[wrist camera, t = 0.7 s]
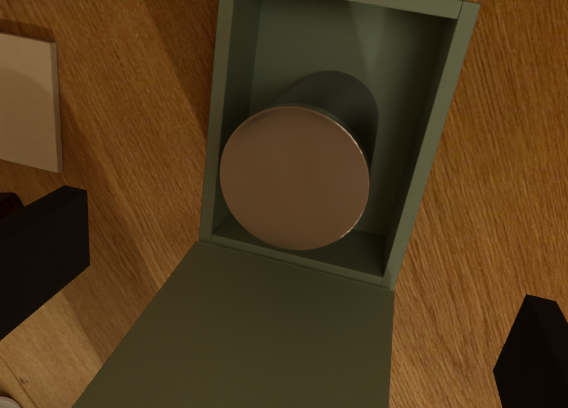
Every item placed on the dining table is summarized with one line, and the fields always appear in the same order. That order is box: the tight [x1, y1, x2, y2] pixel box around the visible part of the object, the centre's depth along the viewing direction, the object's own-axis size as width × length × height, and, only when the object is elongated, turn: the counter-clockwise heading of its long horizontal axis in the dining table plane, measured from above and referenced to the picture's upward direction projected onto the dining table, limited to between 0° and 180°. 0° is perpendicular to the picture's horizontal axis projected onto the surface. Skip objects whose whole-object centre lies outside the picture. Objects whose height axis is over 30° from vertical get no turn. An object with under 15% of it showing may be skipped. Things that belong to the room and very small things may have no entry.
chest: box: [199, 0, 481, 291], centre depth 31 cm, size 18×14×7 cm
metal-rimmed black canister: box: [220, 71, 379, 251], centre depth 28 cm, size 7×7×13 cm
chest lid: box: [72, 241, 394, 408], centre depth 23 cm, size 19×14×1 cm
